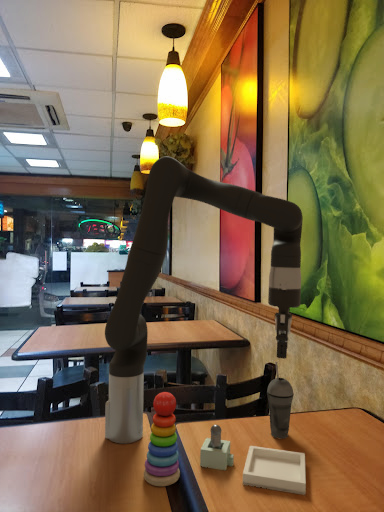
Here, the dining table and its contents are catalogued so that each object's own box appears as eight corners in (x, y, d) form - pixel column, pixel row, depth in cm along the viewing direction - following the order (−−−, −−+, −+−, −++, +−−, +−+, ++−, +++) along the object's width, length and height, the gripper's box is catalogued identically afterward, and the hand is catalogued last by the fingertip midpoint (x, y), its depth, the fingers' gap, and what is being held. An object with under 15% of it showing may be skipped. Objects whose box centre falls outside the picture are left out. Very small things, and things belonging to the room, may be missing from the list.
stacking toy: (165, 492, 82) (167, 402, 82) (136, 480, 86) (137, 394, 86) (186, 475, 89) (188, 391, 89) (158, 464, 93) (159, 384, 93)
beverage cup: (293, 442, 105) (295, 367, 105) (265, 439, 107) (267, 365, 106) (292, 430, 112) (293, 359, 112) (266, 427, 114) (267, 358, 114)
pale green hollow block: (200, 466, 93) (200, 449, 93) (206, 453, 98) (206, 437, 98) (230, 471, 91) (231, 453, 91) (234, 458, 97) (235, 441, 97)
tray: (242, 484, 86) (242, 473, 86) (249, 455, 98) (249, 445, 98) (305, 495, 82) (305, 483, 82) (304, 463, 95) (304, 453, 95)
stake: (208, 463, 94) (209, 426, 94) (211, 458, 96) (211, 422, 96) (219, 465, 93) (220, 428, 93) (221, 459, 96) (222, 423, 96)
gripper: (270, 283, 103) (268, 345, 103) (266, 287, 89) (264, 359, 90) (300, 284, 101) (298, 348, 102) (301, 289, 88) (298, 362, 88)
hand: (282, 353), depth 96 cm, fingers open, 8 cm apart
